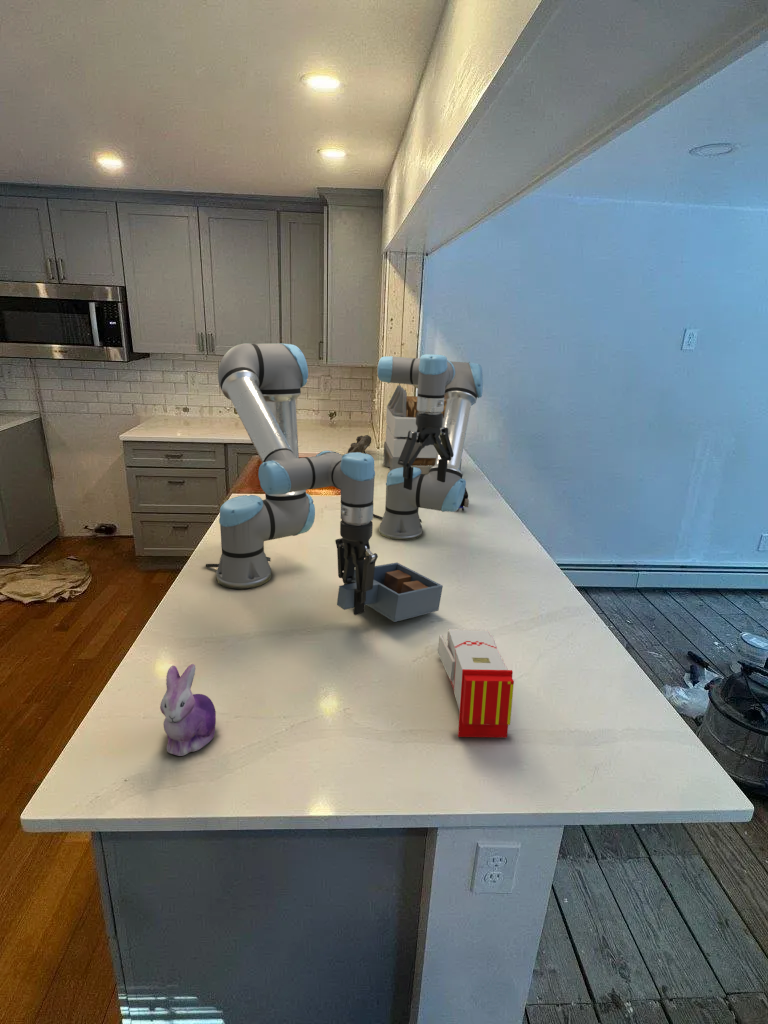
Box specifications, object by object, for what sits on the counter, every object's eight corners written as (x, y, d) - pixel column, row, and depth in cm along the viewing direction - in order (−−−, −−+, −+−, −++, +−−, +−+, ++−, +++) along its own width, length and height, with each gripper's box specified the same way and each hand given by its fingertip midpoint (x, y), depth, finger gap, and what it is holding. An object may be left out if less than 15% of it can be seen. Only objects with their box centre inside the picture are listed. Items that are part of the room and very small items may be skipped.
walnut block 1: (382, 589, 153) (385, 572, 152) (396, 586, 157) (398, 569, 155) (395, 596, 150) (398, 579, 149) (408, 593, 153) (411, 576, 152)
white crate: (382, 463, 289) (386, 382, 275) (445, 464, 293) (451, 384, 279) (390, 482, 257) (394, 392, 243) (460, 483, 261) (468, 394, 247)
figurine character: (468, 516, 224) (463, 500, 237) (471, 498, 221) (465, 483, 234) (452, 515, 224) (447, 499, 237) (453, 498, 220) (449, 482, 234)
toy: (488, 613, 130) (523, 677, 101) (484, 667, 133) (517, 744, 104) (435, 612, 130) (455, 676, 101) (432, 666, 133) (451, 743, 103)
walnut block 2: (399, 600, 148) (402, 582, 147) (414, 597, 151) (417, 580, 150) (411, 608, 144) (414, 590, 143) (426, 605, 147) (429, 587, 146)
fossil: (347, 441, 314) (368, 426, 309) (358, 454, 317) (379, 439, 312) (341, 455, 294) (363, 439, 289) (352, 469, 297) (375, 453, 292)
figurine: (168, 766, 96) (159, 693, 91) (160, 728, 104) (152, 659, 99) (224, 749, 100) (219, 678, 95) (212, 714, 109) (207, 646, 103)
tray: (318, 600, 142) (321, 574, 141) (393, 585, 159) (397, 562, 158) (362, 630, 130) (366, 602, 128) (438, 610, 147) (442, 585, 145)
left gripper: (323, 513, 135) (322, 601, 142) (365, 534, 123) (362, 628, 131) (348, 507, 139) (346, 593, 147) (391, 527, 128) (387, 618, 136)
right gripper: (406, 418, 148) (401, 495, 155) (469, 410, 163) (463, 481, 170) (387, 413, 153) (383, 488, 160) (450, 406, 169) (444, 475, 176)
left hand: (354, 609), depth 139 cm, fingers closed on tray, 3 cm apart
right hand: (424, 484), depth 165 cm, fingers open, 13 cm apart
